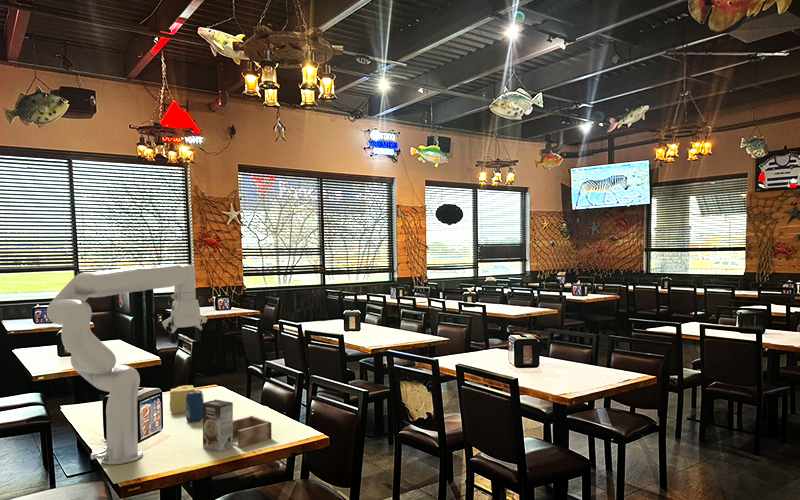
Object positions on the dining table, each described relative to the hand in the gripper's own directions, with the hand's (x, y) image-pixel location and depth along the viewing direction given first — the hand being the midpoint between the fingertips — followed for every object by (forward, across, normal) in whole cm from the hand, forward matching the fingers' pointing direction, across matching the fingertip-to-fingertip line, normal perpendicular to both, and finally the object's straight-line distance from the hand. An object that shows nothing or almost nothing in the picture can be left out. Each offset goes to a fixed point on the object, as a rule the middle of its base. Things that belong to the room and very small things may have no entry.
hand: (185, 341), depth 209 cm
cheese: (+37, +16, +38) cm, 55 cm away
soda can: (+36, +12, +18) cm, 42 cm away
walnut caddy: (+36, +14, -20) cm, 44 cm away
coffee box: (+36, +2, -20) cm, 42 cm away
